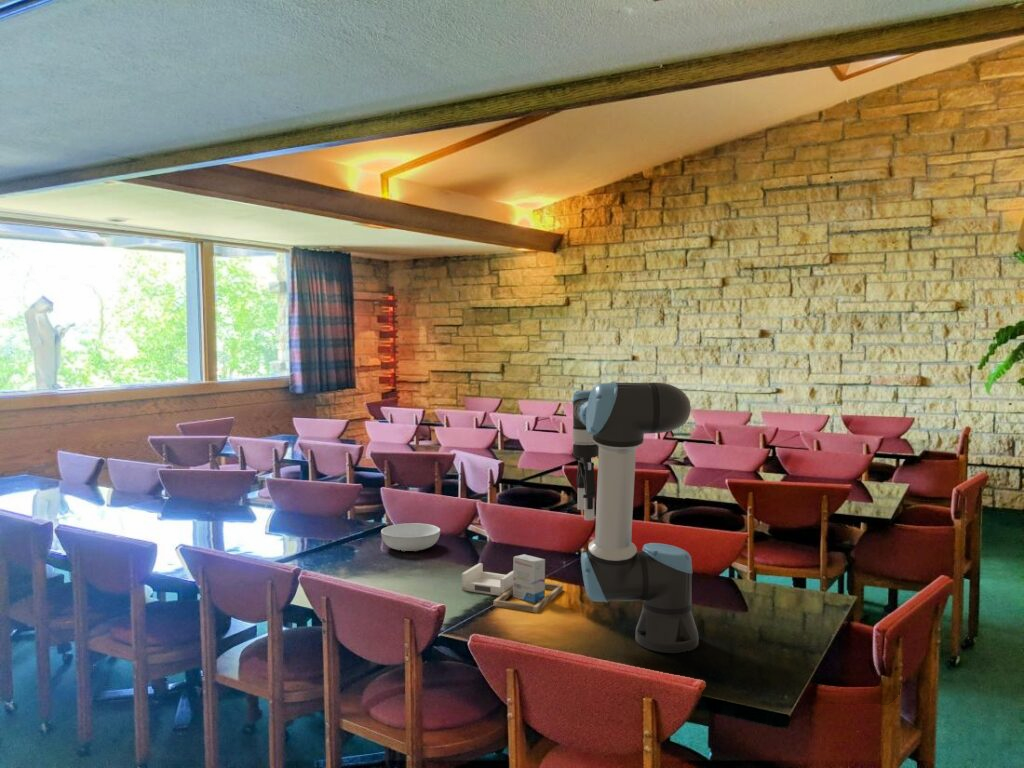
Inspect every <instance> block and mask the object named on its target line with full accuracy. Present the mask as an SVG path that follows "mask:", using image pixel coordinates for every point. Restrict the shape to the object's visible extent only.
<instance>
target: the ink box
mask: <svg viewBox="0 0 1024 768" xmlns="http://www.w3.org/2000/svg"><path fill="white" fill-rule="evenodd" d="M512 559H513V561H512V562H513V565H512V569H513V570H512V571H513V595H512V597H513V598H516V599H519V600H522V601H525V602H529V603H532V604H535V603H536V604H537V603H538V602H540V601H541V600H542V599H543V598H544V597H546V594H545V591H546V589H545V583H546V559H545V558H540V557H537V556H533V555H528V554H525V553H523V554H520V555H515V556H513V558H512Z"/></svg>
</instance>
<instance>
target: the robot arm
mask: <svg viewBox="0 0 1024 768" xmlns="http://www.w3.org/2000/svg"><path fill="white" fill-rule="evenodd" d="M691 405H692V404H691V402H690V400H689V397H688V396H687V394H686V393H685V392H684V391H683V390H681V389H680V388H678V387H676V386H674V385H672V384H669V383H664V382H616V381H613V382H607V383H606V382H605V383H597V384H596V385H595V386H593V387H592V389H591V390H590V389H587V390H585V389H584V390H575V391H574V392H573V396H572V420H573V421H572V422H573V425H572V442H573V444H572V455H573V456H574V457H576V458H577V459H578V460H577V473H576V481H575V483H576V486H577V510H578V511H579V510H580V511H581V510H582V511H583V510H584V521H594V520H595V528H594V529H595V531H594V539H593V540H591V541H590V542H589V544H588V547H587V548H588V549H587V551H585V552H582V553H581V554H580V564H581V572H582V580H583V585H584V588H585V590H584V591H585V594H586V596H587V598H588V599H589V600H590V601H592V602H602V603H604V602H605V603H609V602H612V603H613V602H639V601H640V602H641V601H642V609H641V613H640V616H639V619H638V621H637V624H636V627H635V638H634V639H635V642H636V643H637V644H638V645H639V646H640V647H643V648H645V649H647V650H650V651H654V652H657V653H663V654H665V653H666V654H681V652H683V653H687V652H686V651H688V652H690V651H693V650H695V649H697V647H699V637H700V636H699V632H698V629H697V628H698V627H697V624H696V623H695V622H696V621H695V619H694V615H693V612H692V594H693V593H692V582H693V581H692V580H693V564H692V563H693V562H692V556H691V555H690V553H689V552H688V551H687V550H685V549H683V548H681V547H678V546H676V545H671V544H666V543H659V542H649V543H645V544H644V545H643V546H642V549H641V551H640V550H639V551H638V549H637V546H636V545H635V543H633V542H632V533H633V532H632V531H633V530H632V529H633V515H634V514H633V513H634V512H633V511H634V496H635V476H636V475H635V473H636V458H637V457H636V456H637V454H636V453H637V449H638V448H639V447H640V446H642V445H643V444H644V439H645V438H644V436H645V435H646V434H663V433H668V432H671V431H674V430H677V429H679V428H681V427H682V426H683V425H684V424H686V423H687V421H688V420H689V418H690V415H691V411H692V407H691ZM596 457H597V459H598V460H597V461H598V462H597V478H596V479H597V481H595V464H594V462H593V461H592V458H596ZM596 485H597V486H596ZM595 498H596V502H595ZM595 503H596V508H595ZM595 509H596V510H595Z"/></svg>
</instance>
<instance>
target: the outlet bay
mask: <svg viewBox="0 0 1024 768" xmlns="http://www.w3.org/2000/svg"><path fill="white" fill-rule="evenodd" d="M483 564H484V563H481V562H479V563H477V564H475V565H473V566H472V567H470V568H469V569H467V570H465V571H464V572H462V573H461V591H465V592H473V593H479V594H485V595H490V596H491V595H493V596H497V597H499V596H501V595H502V594H503V593H505V592H506V591H508V590H509V589H510V588H512V587H513V570H511V571H509V572H508V573H507V574H504V573H503V574H502V573H496V572H488V571H483V570H484V569H483V567H484V565H483Z"/></svg>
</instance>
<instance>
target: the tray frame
mask: <svg viewBox="0 0 1024 768" xmlns="http://www.w3.org/2000/svg"><path fill="white" fill-rule="evenodd" d="M545 590H547V591H548V590H549V591H550V592H549V593H548V594H547V595H545V597H544V598H543V599H542V600H541V601H539V602H536V604H535V605H531V604H527V603H519V602H514V601H513V602H512V601H508V599H510V597H511V596H513V587H512V588H510V589H509V590H508V591H506V592H505V593H503V594H502V595H501V596H497V597H496V598H495V599H494V600H493V601H492V602H493V603H492V604H493V607H498V608H503V609H511V610H517V611H522V612H531V613H536V614H537V613H538V612H539V611H540V610H542V609H543V608H544V607H545V606H547V604H549V603H550V602H551V601H552V600H554V598H556V597H557V596H558V595H559V594H561V592H563V590H564V589H563V585H562V584H555V583H554V584H553V583H547V582H545Z"/></svg>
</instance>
